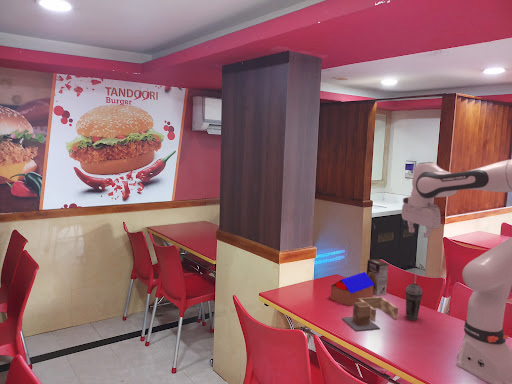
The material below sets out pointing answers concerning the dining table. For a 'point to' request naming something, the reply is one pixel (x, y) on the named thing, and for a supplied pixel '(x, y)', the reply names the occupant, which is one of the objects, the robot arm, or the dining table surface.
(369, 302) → the wooden open frame
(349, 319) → the mat
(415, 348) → the dining table surface
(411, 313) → the beverage cup
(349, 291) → the house
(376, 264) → the coffee box
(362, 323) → the block
